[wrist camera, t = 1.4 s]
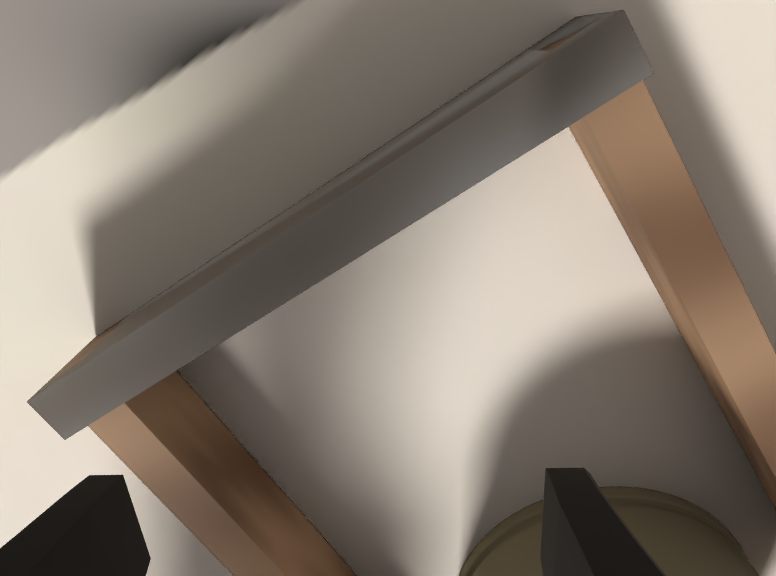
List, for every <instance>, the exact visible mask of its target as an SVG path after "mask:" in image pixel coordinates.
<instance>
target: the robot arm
mask: <svg viewBox="0 0 776 576" xmlns="http://www.w3.org/2000/svg"><path fill="white" fill-rule="evenodd" d="M540 558H541V565H542V571H543V576H666V575H665V573H664V572H663V571H662V570H661V568H660V567H659V566H658V565H657V564H656V562H655V561H654V560H653V559H652V557H651V556H650V555H649V554H648V553H647V551H646V550H645V549H644V547H643V546H642V545H641V544H640V542H639V541H638V540H637V538H636V537H635V536H634V534H633V533H632V532H631V531H630V529H629V528H628V527H627V525H626V524H625V523H624V521H623V520H622V519H621V517H620V516H619V514H618V513H617V512H616V510H615V509H614V508H613V506H612V505H611V503H610V502H609V501H608V499H607V498H606V496H605V495H604V494H603V492H602V491H601V489H600V488H599V486H598V485H597V483H596V482H595V480H594V479H593V477H592V476H591V474H590V473H589V472H588V471H587V470H586V469H584V468H546V473H545V489H544V505H543V521H542V537H541V553H540ZM150 559H151V558H150V555H149V552H148V549H147V546H146V543H145V540H144V537H143V534H142V531H141V528H140V525H139V522H138V519H137V516H136V513H135V510H134V507H133V504H132V501H131V498H130V495H129V492H128V489H127V486H126V483H125V480H124V477H123V475H89V476H88V477H87V478H85V479H84V480H83V481H81V482H80V483H79V484H77V485H76V486H75V487H74V488H72V489H71V490H70V491H69V492H67V493H66V494H65V495H64V496H63V497H61V498H60V499H59V500H58V501H57V502H55V503H54V504H53V505H52V506H51V507H49V508H48V509H47V510H46V511H45V512H43V513H42V514H41V515H40V516H39V517H37V518H36V519H35V520H34V521H33V522H31V523H30V524H29V525H28V526H27V527H26V528H24V529H23V530H22V531H21V532H20V533H18V534H17V535H16V536H15V537H14V538H12V539H11V540H10V541H9V542H7V543H6V544H5V545H4V546H3V547H1V548H0V576H146V573H147V569H148V566H149V563H150Z"/></svg>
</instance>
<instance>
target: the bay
mask: <svg viewBox="0 0 776 576" xmlns="http://www.w3.org/2000/svg"><path fill="white" fill-rule="evenodd" d="M653 73H654V72H653V70H652V68H651V65H650V63H649V61H648V59H647V57H646V55H645V53H644V51H643V49H642V47H641V45H640V42H639V40H638V38H637V36H636V34H635V32H634V30H633V28H632V26H631V24H630V22H629V19H628V17H627V15H626V13H625V11H624V10H620V11H613V12H606V13H599V14H592V15H585V16H578V17H575V18H574V19H572V20H571V21H569V22H568V23H566V24H565V25H563V26H562V27H560V28H559V29H557V30H556V31H554V32H553V33H551V34H550V35H548V36H547V37H545V38H544V39H542V40H541V41H539V42H538V43H536V44H535V45H533V46H532V47H530V48H529V49H527V50H526V51H524V52H523V53H521V54H520V55H518V56H517V57H515V58H514V59H512V60H511V61H509V62H508V63H506V64H505V65H503V66H502V67H500V68H499V69H497V70H496V71H494V72H493V73H491V74H490V75H488V76H487V77H485V78H484V79H482V80H481V81H479V82H478V83H476V84H475V85H473V86H472V87H470V88H469V89H467V90H466V91H464V92H463V93H461V94H460V95H458V96H457V97H455V98H454V99H452V100H451V101H449V102H448V103H446V104H445V105H443V106H442V107H440V108H439V109H437V110H436V111H434V112H433V113H431V114H430V115H428V116H427V117H425V118H424V119H422V120H421V121H419V122H418V123H416V124H415V125H413V126H412V127H410V128H409V129H407V130H406V131H404V132H403V133H401V134H400V135H398V136H397V137H395V138H394V139H392V140H391V141H389V142H388V143H386V144H385V145H383V146H382V147H380V148H379V149H377V150H376V151H374V152H373V153H371V154H370V155H368V156H367V157H365V158H364V159H362V160H361V161H359V162H358V163H356V164H355V165H353V166H352V167H350V168H349V169H347V170H346V171H344V172H343V173H341V174H340V175H338V176H337V177H335V178H334V179H332V180H331V181H329V182H328V183H326V184H325V185H323V186H322V187H320V188H319V189H317V190H316V191H314V192H313V193H311V194H310V195H308V196H307V197H305V198H304V199H302V200H301V201H299V202H298V203H296V204H295V205H293V206H292V207H290V208H289V209H287V210H286V211H284V212H283V213H281V214H280V215H278V216H277V217H275V218H274V219H272V220H271V221H269V222H268V223H266V224H265V225H263V226H262V227H260V228H259V229H257V230H256V231H254V232H253V233H251V234H250V235H248V236H247V237H245V238H244V239H242V240H241V241H239V242H238V243H236V244H235V245H233V246H232V247H230V248H229V249H227V250H226V251H224V252H223V253H221V254H220V255H218V256H217V257H215V258H214V259H212V260H211V261H209V262H208V263H206V264H205V265H203V266H202V267H200V268H199V269H197V270H196V271H194V272H193V273H191V274H190V275H188V276H187V277H185V278H184V279H182V280H181V281H179V282H178V283H176V284H175V285H173V286H172V287H170V288H169V289H167V290H166V291H164V292H163V293H161V294H160V295H158V296H157V297H155V298H154V299H152V300H151V301H149V302H148V303H146V304H145V305H143V306H142V307H140V308H139V309H137V310H136V311H134V312H133V313H131V314H130V315H128V316H127V317H125V318H124V319H122V320H121V321H119V322H118V323H116V324H115V325H113V326H112V327H110V328H109V329H107V330H106V331H104V332H103V333H101V334H100V335H98V336H97V337H95V338H94V339H93V340H92V341H91V342H90V343H89V344H88V345H87V346H86V347H84V348H83V349H82V350H81V351H80V352H79V353H78V354H77V355H76V356H75V357H74V358H73V359H72V360H71V361H70V362H69V363H67V364H66V365H65V366H64V367H63V368H62V369H61V370H60V371H59V372H58V373H57V374H56V375H55V376H54V377H53V378H52V379H50V380H49V381H48V382H47V383H46V384H45V385H44V386H43V387H42V388H41V389H40V390H39V391H38V392H37V393H36V394H35V395H34V396H32V397H31V398H30V399H29V400H28V401H27V403H28V404H29V405H30V406H31V407H32V408H33V409H34V410H35V411H36V412H37V413H38V414H39V415H40V416H41V417H42V418H43V419H44V420H45V421H46V422H47V423H48V424H49V425H50V426H51V427H52V428H53V429H54V430H55V431H56V432H57V433H58V434H59V435H60V436H61V437H62V438H63V439H64V440H66V439H67V438H69V437H70V436H72V435H74V434H75V433H77V432H79V431H80V430H82V429H83V428H85V427H87V426H89V428H90V429H91V430H92V431H93V432H94V433H95V434H96V435H97V436H98V437H99V438H100V439H101V440H102V441H103V442H104V443H105V444H106V445H107V446H108V447H109V448H110V449H111V450H112V451H113V452H114V453H115V454H116V455H117V456H118V457H119V458H120V459H121V460H122V461H123V462H124V463H125V464H126V466H127V467H128V468H129V469H130V470H131V471H132V472H133V473H134V474H135V475H136V476H137V477H138V478H139V479H140V480H141V481H142V482H143V483H144V484H145V485H146V486H147V487H148V488H149V489H150V490H151V491H152V492H153V493H154V494H155V495H156V496H157V497H158V498H159V499H160V500H161V501H162V503H163V504H164V505H165V506H166V507H167V508H168V509H169V510H170V511H171V512H172V513H173V514H174V515H175V516H176V517H177V518H178V519H179V520H180V521H181V522H182V523H183V524H184V525H185V526H186V527H187V528H188V529H189V530H190V531H191V532H192V533H193V534H194V535H195V536H196V537H197V538H198V540H199V541H200V542H201V543H202V544H203V545H204V546H205V547H206V548H207V549H208V550H209V551H210V552H211V553H212V554H213V555H214V556H215V557H216V558H217V559H218V560H219V561H220V562H221V563H222V564H223V565H224V566H225V567H226V568H227V569H228V570H229V571H230V572H231V573H232V574H233V575H234V576H357V575H356V574H355V573H354V572H353V571H352V570H351V569H350V567H349V566H348V565H347V564H346V563H345V562H344V561H343V559H342V558H341V557H340V556H339V555H338V554H337V553H336V552H335V550H334V549H333V548H332V547H331V546H330V545H329V544H328V542H327V541H326V540H325V539H324V538H323V537H322V536H321V535H320V533H319V532H318V531H317V530H316V529H315V528H314V527H313V525H312V524H311V523H310V522H309V521H308V520H307V519H306V517H305V516H304V515H303V514H302V513H301V512H300V511H299V510H298V508H297V507H296V506H295V505H294V504H293V503H292V502H291V500H290V499H289V498H288V497H287V496H286V495H285V494H284V493H283V491H282V490H281V489H280V488H279V487H278V486H277V485H276V483H275V482H274V481H273V480H272V479H271V478H270V477H269V475H268V474H267V473H266V472H265V471H264V470H263V469H262V468H261V466H260V465H259V464H258V463H257V462H256V461H255V460H254V458H253V457H252V456H251V455H250V454H249V453H248V452H247V451H246V449H245V448H244V447H243V446H242V445H241V444H240V443H239V441H238V440H237V439H236V438H235V437H234V436H233V435H232V433H231V432H230V431H229V430H228V429H227V428H226V427H225V426H224V424H223V423H222V422H221V421H220V420H219V419H218V418H217V416H216V415H215V414H214V413H213V412H212V411H211V410H210V409H209V407H208V406H207V405H206V404H205V403H204V402H203V401H202V399H201V398H200V397H199V396H198V395H197V394H196V393H195V391H194V390H193V389H192V388H191V387H190V386H189V385H188V384H187V382H186V381H185V380H184V379H183V378H182V377H181V376H180V374H179V373H178V372H177V371H176V370H178V369H180V368H181V367H183V366H185V365H186V364H188V363H189V362H191V361H193V360H194V359H196V358H197V357H199V356H201V355H202V354H204V353H205V352H207V351H209V350H210V349H212V348H213V347H215V346H217V345H218V344H220V343H221V342H223V341H225V340H226V339H228V338H229V337H231V336H233V335H234V334H236V333H238V332H239V331H241V330H242V329H244V328H246V327H247V326H249V325H250V324H252V323H254V322H255V321H257V320H258V319H260V318H262V317H263V316H265V315H266V314H268V313H270V312H271V311H273V310H274V309H276V308H278V307H279V306H281V305H282V304H284V303H286V302H287V301H289V300H291V299H292V298H294V297H295V296H297V295H299V294H300V293H302V292H303V291H305V290H307V289H308V288H310V287H311V286H313V285H315V284H316V283H318V282H319V281H321V280H323V279H324V278H326V277H327V276H329V275H331V274H332V273H334V272H335V271H337V270H339V269H340V268H342V267H344V266H345V265H347V264H348V263H350V262H352V261H353V260H355V259H356V258H358V257H360V256H361V255H363V254H364V253H366V252H368V251H369V250H371V249H372V248H374V247H376V246H377V245H379V244H380V243H382V242H384V241H385V240H387V239H388V238H390V237H392V236H393V235H395V234H397V233H398V232H400V231H401V230H403V229H405V228H406V227H408V226H409V225H411V224H413V223H414V222H416V221H417V220H419V219H421V218H422V217H424V216H425V215H427V214H429V213H430V212H432V211H433V210H435V209H437V208H438V207H440V206H441V205H443V204H445V203H446V202H448V201H450V200H451V199H453V198H454V197H456V196H458V195H459V194H461V193H462V192H464V191H466V190H467V189H469V188H470V187H472V186H474V185H475V184H477V183H478V182H480V181H482V180H483V179H485V178H486V177H488V176H490V175H491V174H493V173H494V172H496V171H498V170H499V169H501V168H503V167H504V166H506V165H507V164H509V163H511V162H512V161H514V160H515V159H517V158H519V157H520V156H522V155H523V154H525V153H527V152H528V151H530V150H531V149H533V148H535V147H536V146H538V145H539V144H541V143H543V142H544V141H546V140H547V139H549V138H551V137H552V136H554V135H556V134H557V133H559V132H560V131H562V130H564V129H565V128H567V127H568V126H569V128H570V130H571V132H572V134H573V135H574V137H575V139H576V141H577V143H578V145H579V147H580V148H581V150H582V152H583V154H584V156H585V158H586V160H587V161H588V163H589V165H590V167H591V169H592V171H593V172H594V174H595V176H596V178H597V180H598V182H599V184H600V185H601V187H602V189H603V191H604V193H605V195H606V197H607V198H608V200H609V202H610V204H611V206H612V208H613V209H614V211H615V213H616V215H617V217H618V219H619V221H620V222H621V224H622V226H623V228H624V230H625V232H626V234H627V235H628V237H629V239H630V241H631V243H632V245H633V246H634V248H635V250H636V252H637V254H638V256H639V258H640V259H641V261H642V263H643V265H644V267H645V269H646V271H647V272H648V274H649V276H650V278H651V280H652V282H653V283H654V285H655V287H656V289H657V291H658V293H659V295H660V296H661V298H662V300H663V302H664V304H665V306H666V308H667V309H668V311H669V313H670V315H671V317H672V319H673V320H674V322H675V324H676V326H677V328H678V330H679V332H680V333H681V335H682V337H683V339H684V341H685V343H686V345H687V346H688V348H689V350H690V352H691V354H692V356H693V357H694V359H695V361H696V363H697V365H698V367H699V369H700V370H701V372H702V374H703V376H704V378H705V380H706V382H707V383H708V385H709V387H710V389H711V391H712V393H713V394H714V396H715V398H716V400H717V402H718V404H719V406H720V407H721V409H722V411H723V413H724V415H725V417H726V419H727V420H728V422H729V424H730V426H731V428H732V430H733V431H734V433H735V435H736V437H737V439H738V441H739V443H740V444H741V446H742V448H743V450H744V452H745V454H746V456H747V457H748V459H749V461H750V463H751V465H752V467H753V468H754V470H755V472H756V474H757V476H758V478H759V480H760V481H761V483H762V485H763V487H764V489H765V491H766V493H767V494H768V496H769V498H770V500H771V502H772V504H773V505H774V507H775V509H776V353H775V351H774V349H773V347H772V345H771V343H770V341H769V339H768V337H767V335H766V333H765V330H764V328H763V326H762V324H761V322H760V320H759V318H758V316H757V314H756V312H755V310H754V308H753V306H752V304H751V302H750V300H749V298H748V296H747V293H746V291H745V289H744V287H743V285H742V283H741V281H740V279H739V277H738V275H737V273H736V271H735V269H734V267H733V265H732V263H731V261H730V259H729V256H728V254H727V252H726V250H725V248H724V246H723V244H722V242H721V240H720V238H719V236H718V234H717V232H716V230H715V228H714V226H713V224H712V221H711V219H710V217H709V215H708V213H707V211H706V209H705V207H704V205H703V203H702V201H701V199H700V197H699V195H698V193H697V191H696V189H695V187H694V184H693V182H692V180H691V178H690V176H689V174H688V172H687V170H686V168H685V166H684V164H683V162H682V160H681V158H680V156H679V154H678V152H677V150H676V147H675V145H674V143H673V141H672V139H671V137H670V135H669V133H668V131H667V129H666V127H665V125H664V123H663V121H662V119H661V117H660V115H659V113H658V110H657V108H656V106H655V104H654V102H653V100H652V98H651V96H650V94H649V92H648V90H647V88H646V86H645V84H644V82H643V80H644V79H645V78H647V77H649V76H650V75H652V74H653Z"/></svg>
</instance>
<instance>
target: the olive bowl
mask: <svg viewBox="0 0 776 576" xmlns="http://www.w3.org/2000/svg"><path fill="white" fill-rule="evenodd" d="M599 488H600V489H601V491H602V492H603V494H604V495H605V496H606V498H607V499H608V501H609V502H610V503H611V505H612V506H613V508H614V509H615V510H616V512H617V513H618V514H619V516H620V517H621V519H622V520H623V521H624V523H625V524H626V525H627V527H628V528H629V529H630V531H631V532H632V533H633V534H634V536H635V537H636V538H637V540H638V541H639V542H640V544H641V545H642V546H643V547H644V549H645V550H646V551H647V553H648V554H649V555H650V556H651V557H652V559H653V560H654V561H655V562H656V564H657V565H658V566H659V567H660V568H661V570H662V571H663V572H664V573H665V575H666V576H759V575H758V573H757V572H756V571H755V569H754V568H753V566H752V565H751V563H750V562H749V561H748V558H747V556H746V555H745V553H744V551H743V550H742V548H741V547H740V545H739V543H738V542H737V541H736V539H735V538H734V537H733V535H732V534H731V533H730V532H729V531H728V530H727V529H726V528H725V527H724V526H723V525H722V524H721V523H720V522H719V521H718V520H717V519H716V518H714V517H713V516H712V515H710V514H709V513H708V512H706V511H704V510H703V509H701V508H699V507H698V506H696V505H694V504H692V503H690V502H688V501H686V500H683V499H681V498H678V497H675V496H672V495H669V494H666V493H662V492H658V491H653V490H648V489H642V488H632V487H599ZM543 505H544V500H542V501H539V502H536V503H534V504H532V505H530V506H528V507H526V508H524V509H522V510H520V511H518V512H516V513H515V514H513V515H511V516H510V517H508V518H507V519H505V520H504V521H503V522H501V523H500V524H498V525H497V526H496V527H495V528H494V529H493V530H491V531H490V532H489V533H488V534H487V535H486V536H485V537H484V538H483V539H482V540H481V541H480V542H479V543H478V545H477V546H476V547H475V549H474V550H473V551H472V553H471V554H470V556H469V557H468V559H467V561H466V562H465V564H464V566H463V569H462V571H461V573H460V576H543V571H542V565H541V558H540V553H541V537H542V521H543Z"/></svg>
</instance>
